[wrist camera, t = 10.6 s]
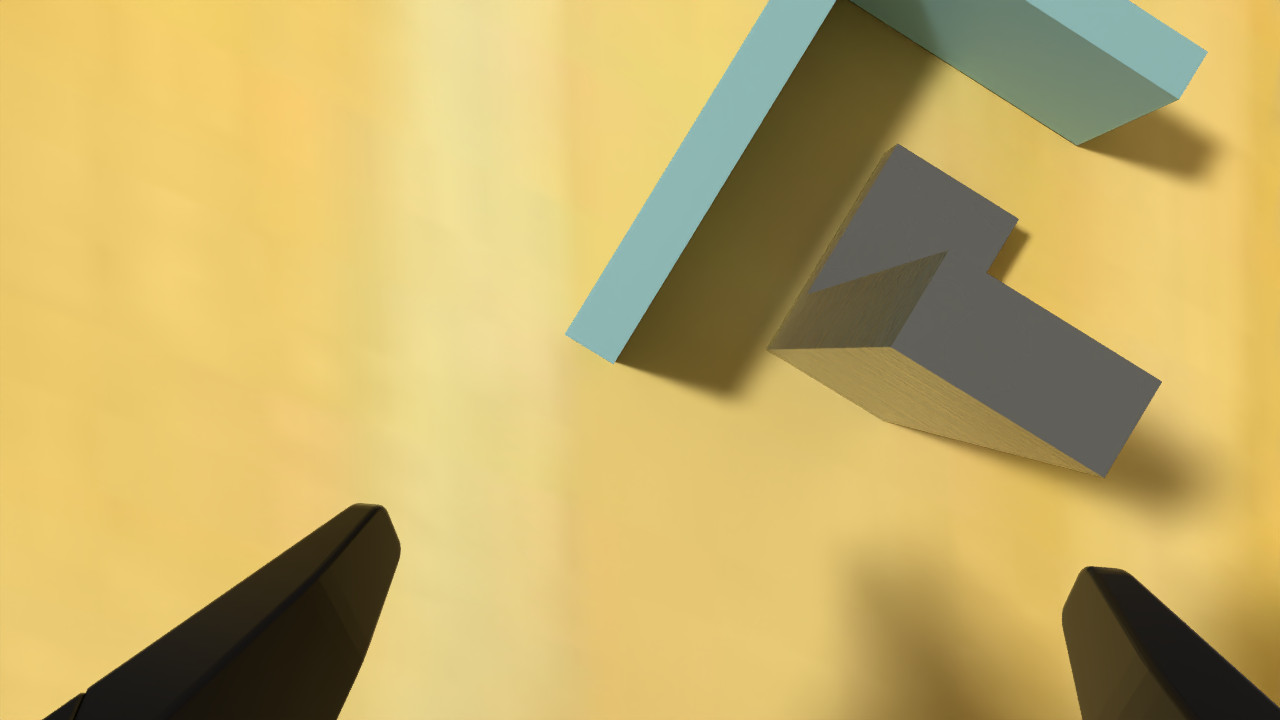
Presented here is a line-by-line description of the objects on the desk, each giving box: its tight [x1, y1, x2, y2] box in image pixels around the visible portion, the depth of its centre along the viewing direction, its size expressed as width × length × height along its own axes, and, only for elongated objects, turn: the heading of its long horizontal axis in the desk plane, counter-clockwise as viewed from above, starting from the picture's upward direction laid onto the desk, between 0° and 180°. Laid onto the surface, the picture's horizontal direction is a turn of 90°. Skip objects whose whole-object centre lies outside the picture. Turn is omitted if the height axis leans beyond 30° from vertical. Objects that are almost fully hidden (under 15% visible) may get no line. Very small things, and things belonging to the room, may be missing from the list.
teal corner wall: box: [565, 0, 1208, 364], centre depth 20 cm, size 16×11×4 cm
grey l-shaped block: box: [767, 144, 1162, 478], centre depth 17 cm, size 8×4×10 cm, turn 149°
